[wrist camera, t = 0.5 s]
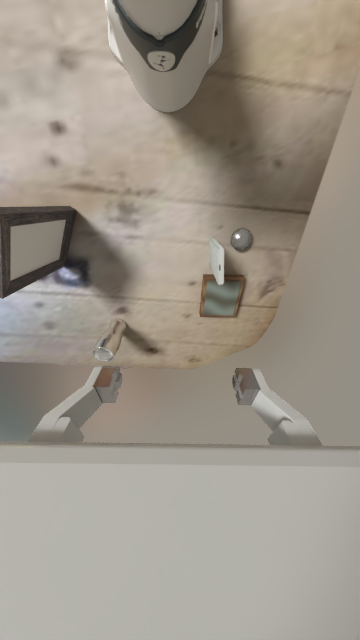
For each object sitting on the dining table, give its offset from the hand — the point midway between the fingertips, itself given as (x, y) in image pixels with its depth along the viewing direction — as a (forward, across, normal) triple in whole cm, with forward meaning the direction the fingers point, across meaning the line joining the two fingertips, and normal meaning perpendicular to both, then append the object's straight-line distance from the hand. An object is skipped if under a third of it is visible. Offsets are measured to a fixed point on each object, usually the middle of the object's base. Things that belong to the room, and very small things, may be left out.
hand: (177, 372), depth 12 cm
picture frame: (+42, +31, -2) cm, 52 cm away
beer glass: (+42, +23, +28) cm, 55 cm away
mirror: (+42, -13, +14) cm, 46 cm away
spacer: (+42, -16, -2) cm, 45 cm away
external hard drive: (+42, -9, +2) cm, 43 cm away
